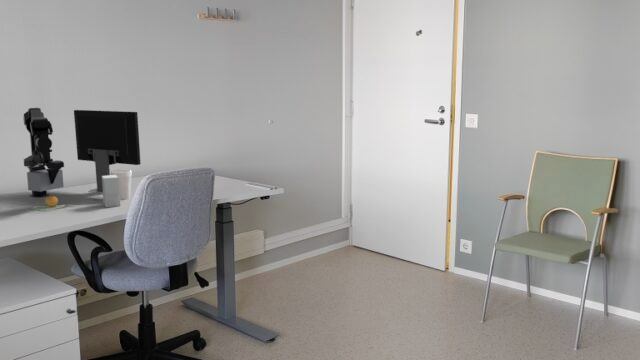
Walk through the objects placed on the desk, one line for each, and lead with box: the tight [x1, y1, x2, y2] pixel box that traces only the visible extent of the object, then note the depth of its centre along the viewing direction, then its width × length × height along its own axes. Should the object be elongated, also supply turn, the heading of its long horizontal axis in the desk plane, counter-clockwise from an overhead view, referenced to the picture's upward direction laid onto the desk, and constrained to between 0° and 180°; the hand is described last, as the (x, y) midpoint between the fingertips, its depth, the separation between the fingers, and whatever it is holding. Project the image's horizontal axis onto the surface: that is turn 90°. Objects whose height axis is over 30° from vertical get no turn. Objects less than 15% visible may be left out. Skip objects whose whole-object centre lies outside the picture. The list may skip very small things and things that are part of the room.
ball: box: [45, 195, 59, 207], centre depth 270 cm, size 5×5×5 cm
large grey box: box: [26, 168, 64, 192], centre depth 267 cm, size 8×12×8 cm, turn 154°
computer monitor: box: [73, 109, 142, 194], centre depth 299 cm, size 41×8×40 cm, turn 63°
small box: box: [102, 174, 121, 208], centre depth 272 cm, size 8×6×13 cm
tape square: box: [30, 204, 66, 212], centre depth 269 cm, size 10×10×1 cm
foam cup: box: [110, 169, 133, 201], centre depth 286 cm, size 10×9×13 cm
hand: (45, 183), depth 267 cm, fingers closed on large grey box, 8 cm apart
